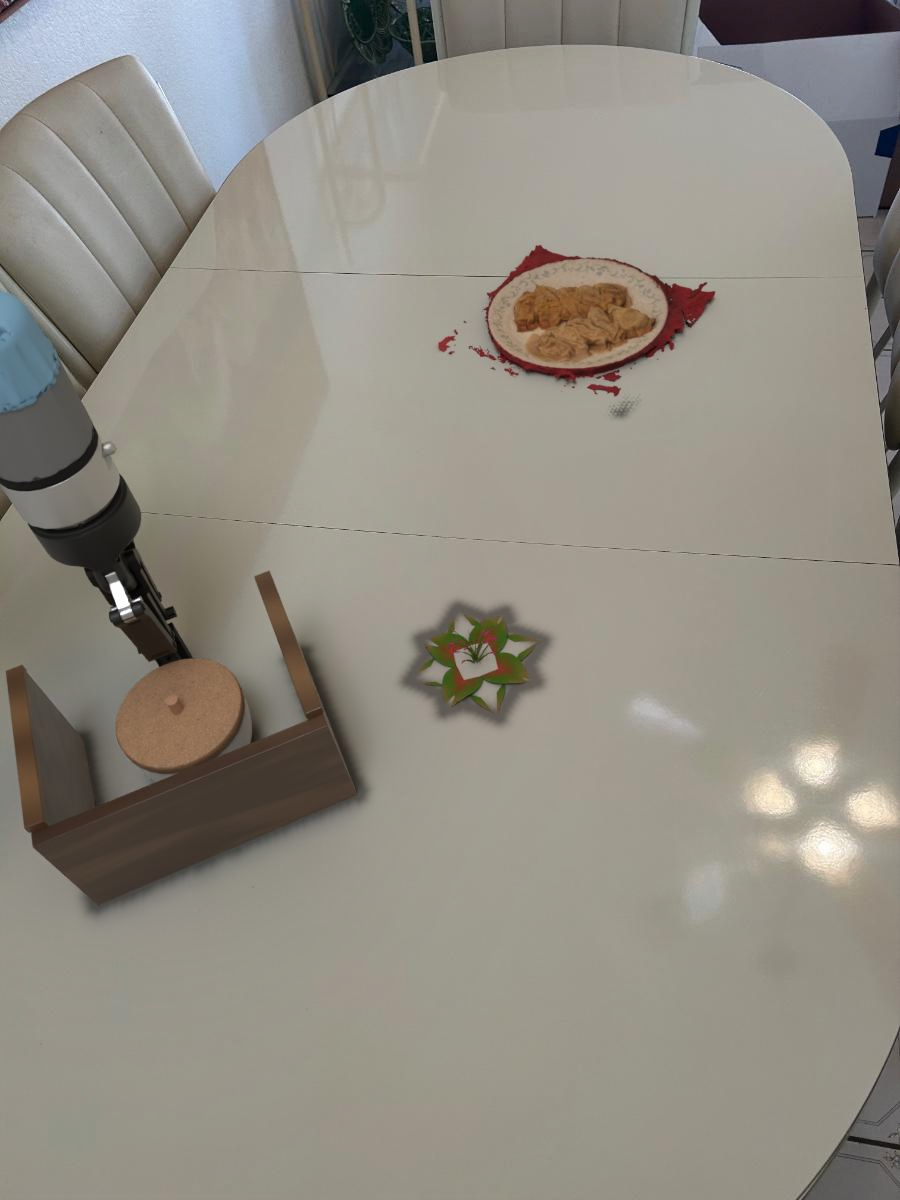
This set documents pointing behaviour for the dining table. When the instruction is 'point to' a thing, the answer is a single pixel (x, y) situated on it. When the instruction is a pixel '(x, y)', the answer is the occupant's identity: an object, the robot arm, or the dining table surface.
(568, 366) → the plate with food
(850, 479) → the dining table surface
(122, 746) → the trinket box
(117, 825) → the shelf cubby
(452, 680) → the lily flower
